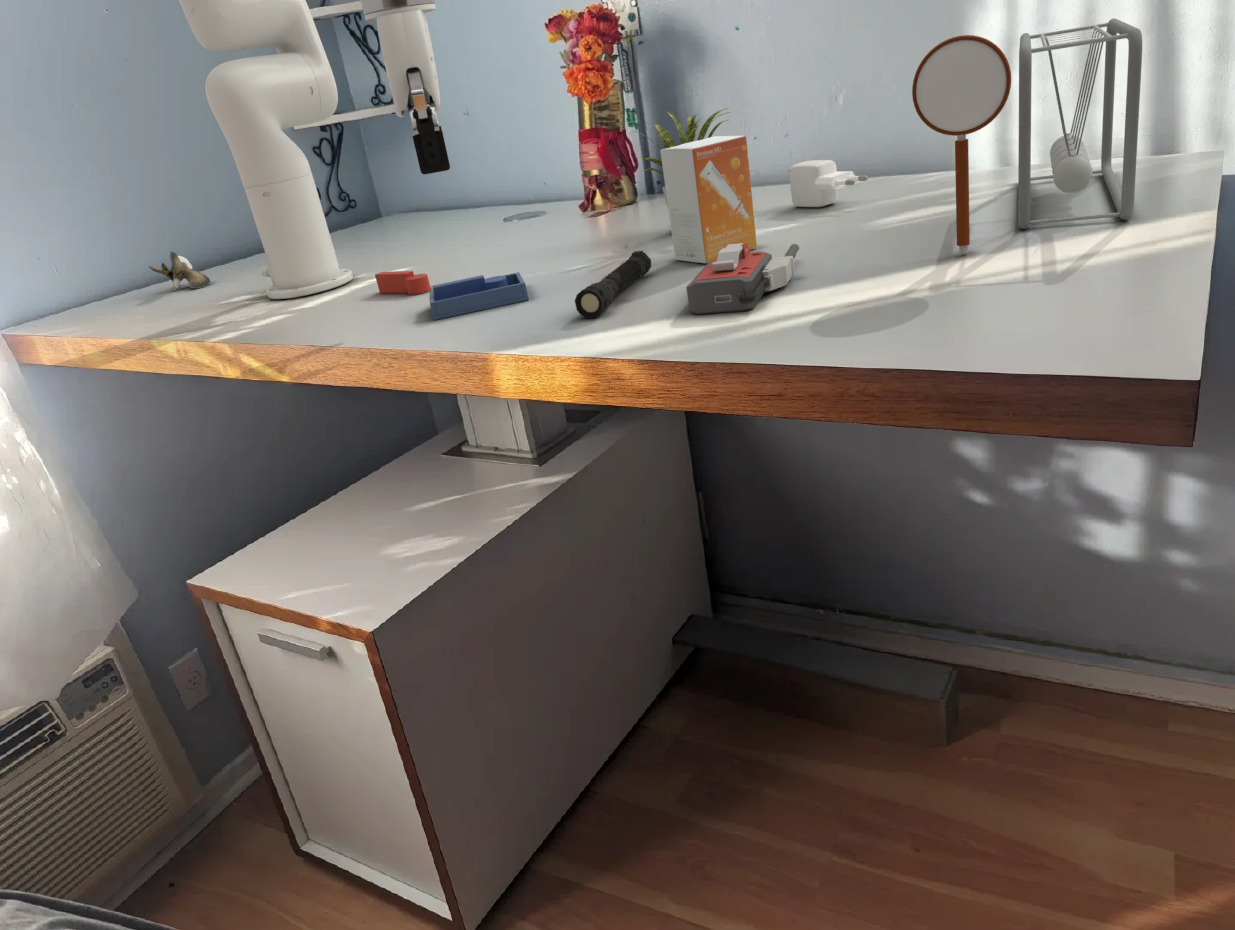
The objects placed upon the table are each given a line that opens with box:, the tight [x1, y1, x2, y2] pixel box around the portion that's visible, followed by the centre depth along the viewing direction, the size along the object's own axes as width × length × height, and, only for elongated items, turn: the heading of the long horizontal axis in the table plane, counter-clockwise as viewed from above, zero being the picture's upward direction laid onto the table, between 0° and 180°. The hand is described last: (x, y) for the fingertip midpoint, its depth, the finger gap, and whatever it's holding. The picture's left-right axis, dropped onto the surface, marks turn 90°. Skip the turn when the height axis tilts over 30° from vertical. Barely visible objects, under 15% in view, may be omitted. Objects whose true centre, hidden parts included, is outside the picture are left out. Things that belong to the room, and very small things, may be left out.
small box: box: [659, 135, 758, 264], centre depth 108 cm, size 8×6×13 cm
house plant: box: [632, 107, 731, 208], centre depth 125 cm, size 14×14×16 cm
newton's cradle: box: [1017, 17, 1143, 230], centre depth 102 cm, size 30×10×18 cm, turn 159°
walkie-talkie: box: [685, 243, 800, 315], centre depth 93 cm, size 9×4×20 cm
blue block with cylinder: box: [432, 274, 508, 301], centre depth 108 cm, size 8×3×3 cm, turn 102°
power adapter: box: [789, 159, 869, 208], centre depth 126 cm, size 11×5×6 cm, turn 37°
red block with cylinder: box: [374, 270, 432, 296], centre depth 122 cm, size 8×3×3 cm, turn 57°
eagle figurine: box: [148, 250, 211, 292], centre depth 157 cm, size 8×7×9 cm
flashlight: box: [574, 250, 652, 319], centre depth 100 cm, size 3×16×3 cm, turn 160°
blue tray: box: [428, 271, 529, 321], centre depth 108 cm, size 11×7×2 cm, turn 102°
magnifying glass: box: [911, 34, 1012, 256], centre depth 88 cm, size 9×2×20 cm, turn 65°
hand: (435, 167), depth 104 cm, fingers open, 9 cm apart
